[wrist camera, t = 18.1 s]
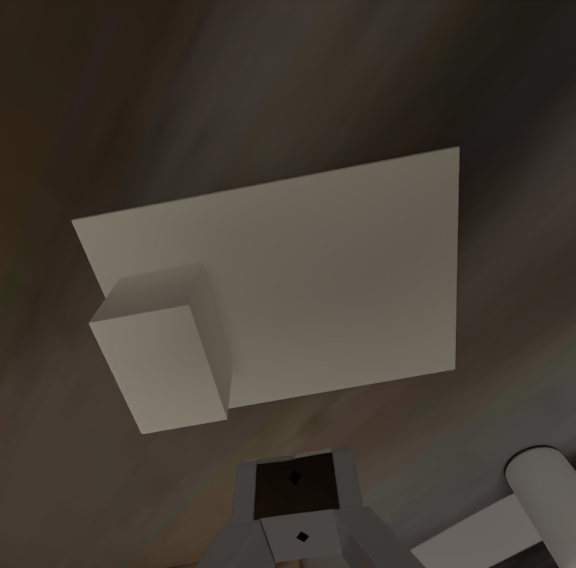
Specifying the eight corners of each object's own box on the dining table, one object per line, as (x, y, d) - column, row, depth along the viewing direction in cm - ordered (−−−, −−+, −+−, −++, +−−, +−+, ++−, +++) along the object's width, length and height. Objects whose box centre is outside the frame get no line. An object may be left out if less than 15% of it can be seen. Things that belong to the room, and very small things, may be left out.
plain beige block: (88, 323, 26) (120, 277, 32) (141, 434, 30) (161, 376, 36) (188, 304, 26) (202, 262, 31) (227, 419, 30) (232, 364, 36)
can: (565, 473, 46) (656, 593, 35) (508, 491, 47) (580, 613, 36) (558, 436, 43) (655, 555, 33) (498, 456, 44) (573, 577, 34)
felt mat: (457, 146, 29) (459, 147, 29) (453, 366, 38) (455, 369, 38) (73, 218, 30) (71, 220, 29) (160, 417, 39) (159, 420, 39)
